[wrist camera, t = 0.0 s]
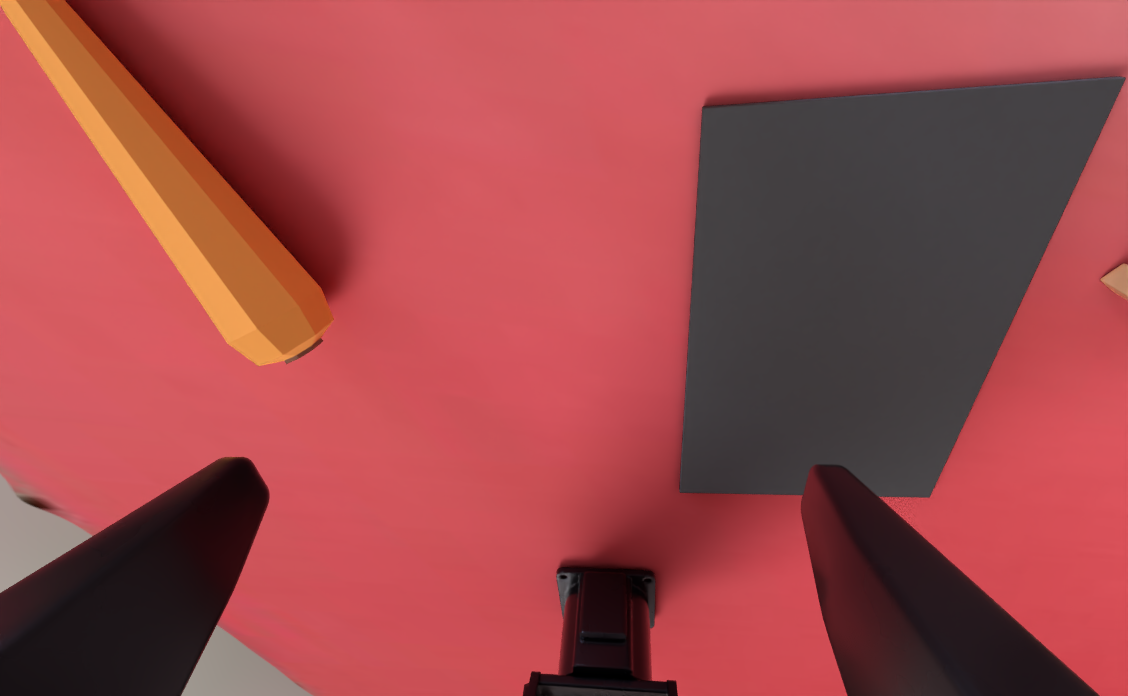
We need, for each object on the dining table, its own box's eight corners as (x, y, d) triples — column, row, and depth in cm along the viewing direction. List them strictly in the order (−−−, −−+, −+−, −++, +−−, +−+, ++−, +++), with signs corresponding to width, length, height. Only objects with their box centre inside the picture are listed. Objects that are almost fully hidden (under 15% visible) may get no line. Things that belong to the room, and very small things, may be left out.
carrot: (356, 313, 25) (339, 342, 21) (274, 358, 25) (240, 397, 21) (5, -184, 18) (-132, -293, 13) (-117, -123, 17) (-294, -212, 13)
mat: (927, 493, 28) (929, 497, 28) (679, 488, 29) (679, 492, 29) (1119, 76, 17) (1126, 77, 16) (702, 106, 18) (703, 107, 18)
